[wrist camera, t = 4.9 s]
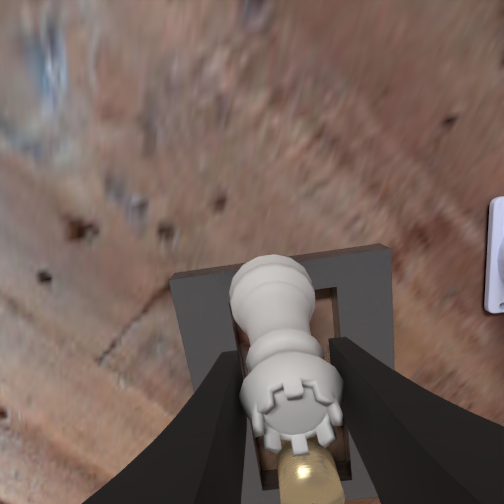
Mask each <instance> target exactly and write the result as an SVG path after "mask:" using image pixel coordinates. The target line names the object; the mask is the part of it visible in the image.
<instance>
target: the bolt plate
mask: <svg viewBox="0 0 504 504" xmlns="http://www.w3.org/2000/svg"><path fill="white" fill-rule="evenodd" d="M288 258H292V259H293V260H294V261H296V262H297V263H299V264H300V265H301V266H303V267H304V268H305V270H306V272H307V273H308V275H309V277H310V279H311V280H312V285H313V287H314V290H316V289H323V288H331V295H332V307H333V319H334V330H335V338H339V337H347V338H348V339H350V340H351V341H353V342H354V343H355V344H357V345H358V346H360V347H361V348H362V349H364V350H365V351H366V352H368V353H369V354H371V355H372V356H374V357H375V358H376V359H378V360H379V361H381V362H382V363H384V364H385V365H387V366H388V367H390V368H391V369H393V370H394V337H393V305H392V273H391V248H388V247H386V246H384V245H382V244H374V245H367V246H360V247H353V248H346V249H339V250H332V251H325V252H318V253H311V254H304V255H297V256H290V257H288ZM244 264H246V263H242V264H235V265H228V266H221V267H214V268H207V269H200V270H193V271H186V272H179V273H175V274H174V275H173V276H172V277H171V278H170V279H169V284H170V289H171V293H172V297H173V302H174V306H175V310H176V315H177V319H178V323H179V328H180V332H181V336H182V341H183V345H184V350H185V354H186V358H187V363H188V367H189V371H190V376H191V380H192V384H193V389H194V393H195V391H196V390H197V388H198V387H199V386H200V384H201V383H202V381H203V380H204V378H205V377H206V375H207V374H208V372H209V371H210V369H211V368H212V366H213V365H214V363H215V362H216V360H217V358H218V357H219V355H220V354H221V353H222V352H227V351H235V350H239V356H240V362H241V368H242V374H243V380H244V379H245V374H244V369H243V363H242V357H241V352H240V346H239V340H238V335H237V329H236V323H235V319H234V317H233V315H232V310H231V305H230V294H229V291H230V287H231V283H232V279H233V277H234V276H235V274H236V273H237V272H238V271H239V269H240V268H241V267H242V265H244ZM394 371H395V370H394ZM343 436H344V447H345V459H346V461H343V462H334V459H333V456H332V453H331V449H330V446H329V445H328V446H327V447H326V448H324V447H323V446H322V445H321V444H319V441H318V437H317V435H315V436H313V437H311V438H308V439H307V444H308V448H309V453H310V455H304V456H297V457H293V453H292V447H291V441H284V440H281V447H282V448H281V450H280V451H279V453H278V454H276V459H277V469H278V470H270V471H262V470H261V465H260V459H259V453H258V448H257V442H256V438H255V436H254V431H253V426H252V422H251V421H250V420H249V419H248V417H247V434H246V447H245V459H244V471H243V483H242V495H241V504H345V501H346V500H354V499H362V498H371V497H378V495H377V492H376V490H375V487H374V485H373V483H372V481H371V478H370V476H369V474H368V472H367V470H366V468H365V465H364V463H363V461H362V459H361V457H360V454H359V452H358V450H357V448H356V446H355V443H354V441H353V439H352V437H351V435H350V432H349V430H348V428H347V426H346V424H345V421H344V419H343Z"/></svg>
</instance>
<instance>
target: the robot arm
mask: <svg viewBox="0 0 504 504" xmlns="http://www.w3.org/2000/svg"><path fill="white" fill-rule="evenodd" d="M501 303H502V305H501V306H500V304H501ZM499 306H500V307H499ZM484 307H485V309H486V310H487V311H489V312H491V313H501V312H504V196H502V197H497V198H494V199H493V200H492V201H491V203H490V207H489V226H488V245H487V264H486V283H485V302H484ZM329 349H330V361H331V365H332V366H334V367H335V368H336V370H337V371H338V373H339V374H340V376H341V378H342V379H343V381H344V399H343V401H342V403H341V405H340V408H341V411H342V414H343V419H344V421H345V424H346V426H347V428H348V430H349V432H350V435H351V437H352V439H353V441H354V443H355V446H356V448H357V450H358V452H359V454H360V457H361V459H362V461H363V463H364V465H365V468H366V470H367V472H368V474H369V476H370V478H371V481H372V483H373V485H374V487H375V490H376V492H377V495H378V497H379V499H380V502H381V504H504V427H503V426H501V425H499V424H497V423H494V422H492V421H490V420H487V419H485V418H483V417H481V416H478V415H476V414H474V413H472V412H469V411H467V410H465V409H463V408H461V407H459V406H457V405H455V404H453V403H451V402H449V401H447V400H445V399H443V398H441V397H439V396H437V395H435V394H433V393H431V392H430V391H428V390H426V389H424V388H422V387H421V386H419V385H417V384H416V383H414V382H412V381H411V380H409V379H407V378H406V377H404V376H402V375H401V374H399V373H398V372H396V371H394V370H393V369H391V368H390V367H388V366H387V365H385V364H384V363H382V362H381V361H379V360H378V359H376V358H375V357H374V356H372V355H371V354H369V353H368V352H366V351H365V350H364V349H362V348H361V347H360V346H358V345H357V344H355V343H354V342H353V341H351V340H350V339H348V338H347V337H339V338H331V339H329ZM243 381H244V380H243V374H242V368H241V362H240V356H239V350H235V351H227V352H222V353H221V354H220V355H219V357H218V358H217V360H216V362H215V363H214V365H213V366H212V368H211V369H210V371H209V372H208V374H207V375H206V377H205V378H204V380H203V381H202V383H201V384H200V386H199V387H198V388H197V390H196V391H195V393H194V394H193V395H192V397H191V398H190V399H189V400H188V402H187V403H186V404H185V406H184V407H183V408H182V409H181V411H180V412H179V413H178V414H177V416H176V417H175V418H174V419H173V420H172V421H171V423H170V424H169V425H168V426H167V427H166V428H165V429H164V430H163V431H162V432H161V434H160V435H159V436H158V437H157V438H156V439H155V440H154V441H153V442H152V443H151V444H150V445H149V446H148V447H147V448H146V449H144V450H143V451H142V452H141V453H140V454H139V455H138V456H137V457H136V458H135V459H134V460H133V461H132V462H131V463H130V464H128V465H127V466H126V467H125V468H124V469H123V470H122V471H121V472H120V473H118V474H117V475H116V476H115V477H114V478H113V479H111V480H110V481H109V482H108V483H107V484H106V485H104V486H103V487H102V488H101V489H99V490H98V491H97V492H96V493H94V494H93V495H92V496H91V497H89V498H88V499H87V500H86V501H84V502H83V503H82V504H241V495H242V483H243V471H244V459H245V447H246V434H247V416H246V415H245V414H244V413H243V411H242V408H241V403H240V399H239V393H240V390H241V387H242V384H243Z"/></svg>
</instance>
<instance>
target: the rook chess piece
mask: <svg viewBox="0 0 504 504" xmlns="http://www.w3.org/2000/svg"><path fill="white" fill-rule="evenodd" d="M229 294H230V305H231V310H232V315H233V317H234V319H235V321H236V322H237V323H238V325H239V326H240V327H241V329H242V330H243V331H244V332H245V333H246V334H247V335H248V337H249V341H250V345H251V347H250V348H249V352H248V355H247V358H246V365H247V370H248V373H249V375H248V376H247V377H246V378H245V379H244V381H243V384H242V387H241V390H240V393H239V399H240V403H241V408H242V411H243V413H244V414H245V415H246V416H247V417H248V419H249V420H250V421H251V422H252V426H253V431H254V436H255V438H256V437H259V436H263V447H264V448H265V449H267V450H269V451H271V452H273V453H275V454H278V453H279V451H280V450H281V448H282V447H281V440H284V441H291V447H292V453H293V457H297V456H304V455H310V453H309V448H308V444H307V439H308V438H311V437H313V436H315V435H317V437H318V441H319V444H321V445H322V446H323V447H324V448H326V447H327V446H328V445H330V444H331V443H332V442H333V441H334V440H335V439H337V437H336V434H335V431H334V428H333V426H343V414H342V411H341V408H340V405H341V403H342V401H343V399H344V381H343V379H342V378H341V376H340V374H339V373H338V371H337V370H336V368H335V367H334V366H332V365H331V364H329V363H328V362H326V361H325V360H324V358H323V349H322V348H321V346H320V344H319V343H318V341H317V340H316V339H315V338H314V337H312V336H311V333H310V326H309V323H310V320H311V317H312V315H313V312H314V310H315V290H314V287H313V285H312V280H311V279H310V277H309V275H308V273H307V272H306V270H305V268H304V267H303V266H301V265H300V264H299V263H297V262H296V261H294V260H293V259H292V258H288V257H284V256H280V255H275V254H274V255H267V256H260V257H256V258H255V259H253V260H251V261H249V262H247V263H246V264H244V265H242V267H241V268H240V269H239V271H238V272H237V273H236V274H235V276H234V277H233V279H232V283H231V287H230V291H229Z"/></svg>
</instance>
